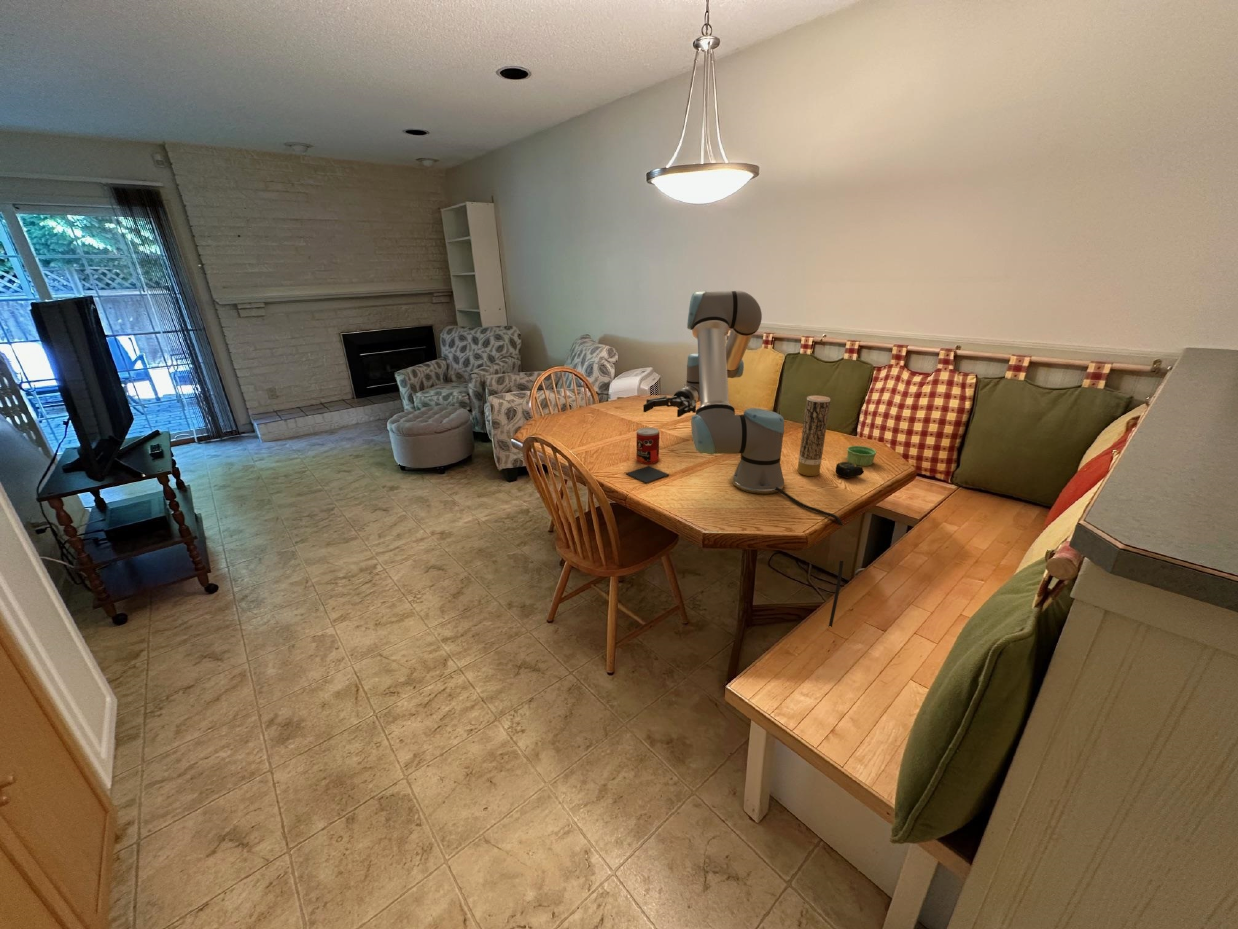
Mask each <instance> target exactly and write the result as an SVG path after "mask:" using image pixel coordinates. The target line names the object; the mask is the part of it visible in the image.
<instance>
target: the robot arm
mask: <svg viewBox="0 0 1238 929" xmlns="http://www.w3.org/2000/svg"><path fill="white" fill-rule="evenodd" d="M687 314H688V315H687V322H686V325H687V326H686V328H687V329H688V330H690V331H692V336H693V337H694V338H695V339H696V340H697V353H690V354H689V355H688V356H687V362H686V381H685V382H686V385H685V386H686V387H684V388H681V389H679V390H677V391H676V392H675V393H674V394H673V396H668V397H667V395H663V396H659V397H653V398H646V399H645V400H646V403H644V404H643V406H642V407H643V413H647V412H648V411H651V410H653V409H654V408H657V407H660V408H661V407H667V408H670V407H673V408H676V417H677V418H680V417H682V416H684V415H686V414H688V413H690V414H691V412H692V414H694V415H691V418H690V426H691V428H690V429H691V436H692V437H691V438H692V442H693V446H694V448H695V451H696V452H698V453H699V454H707V455H723V454H724V455H728V454H729V455H731V454H732V455H733V454H734V455H740V460H739V462H738V464H737V466H736V468H735V471H734V473H733V475H732V484H733V486H734V487H736V489H739V490H740V491H744V492H746V493H750V494H756V495H773V494H777V493H779V494H782V495H783V496H785V497H786V498H787V499H789V500H791V501H792V502H793V503H795V504H796V505H798V506H800V507H802V508H804V509H807V510H810V511H812V512H816V513H818V514H821V515H824V516H827V517H830V518H832V519H834V520H835V521H836V522H837V524H838V525H840V526H843V525H844V524H843V522H842V519H840V517H838V515H836V514H834V513H832V512H827V511H825V510H822V509H819V508H816V507H813V506H810V505H808V504H805V503H803V502H801V501H799V500H798V499H796V498H794V497H793V496H791V495H790V494H789V493H787V492H786V491H784V486H785V478H784V474H783V469H782V464H781V459H782V449H783V443H784V442H783V441H784V434H785V419H784V417H783V416H782V415H781V414H780V413H777V412H775V411H772V410H769V409H764V408H757V407H755V408H754V407H753V408H752V407H750V408H745V410H744V412H743V414H736V408H735V407H734V405H732V404H730V394H729V382H728V381H729V380H728V379H736V378H737V379H738V378H741V377H742V376H743V375H744V369H745V366H744V364H745V363H744V360H743V358H744V355H745V353H746V350H747V349H748V346H749V344H750V341H751V339H752V338H753V335H754V334H756V333H757V332H758V331H759V328H760V326H761V324H762V320H763V317H762V316H763V313H762V309H761V306H760V304H759V303H758V301H757V300H756V298H755V297H754V296H752V295H751V294H749V293H747V292H746V291H743V290H721V291H719V290H717V291H707V290H704V291H697V292H696V291H695V292H693V293H692V294H691V296H690V302H689V308H688V313H687ZM728 334H729V335H728ZM727 335H728V337H727V341H726V336H727ZM697 403H700V405H699V406H698V407H697ZM843 568H844V560H839V563H838V572H837V580H836V587H835V591H834V598H833V602H832V608H831V612H830V616H829V617H830V618H829V621H828V627H829V626H831V627H832V628H833V624H834V620H835V614H836V611H837V610H836V609H837V606H838V600H839V594H840V590H841V582H842V576H843V570H844V569H843Z"/></svg>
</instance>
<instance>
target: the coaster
mask: <svg viewBox="0 0 1238 929" xmlns="http://www.w3.org/2000/svg"><path fill="white" fill-rule="evenodd" d="M625 475H627V476H629V477H631V478H633V479H635V480H637V481H639V482H642V483H644V484H650V483H651V482H654V481H657V480H661V479H663V478H666V477H669V476H670V474H669V473H667V472H665V471H662V470H661V469H657V468H655V467H653V466H650V465H647V466H643V467H641V468H638V469H635V470H631V471H629V472H626V473H625Z"/></svg>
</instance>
